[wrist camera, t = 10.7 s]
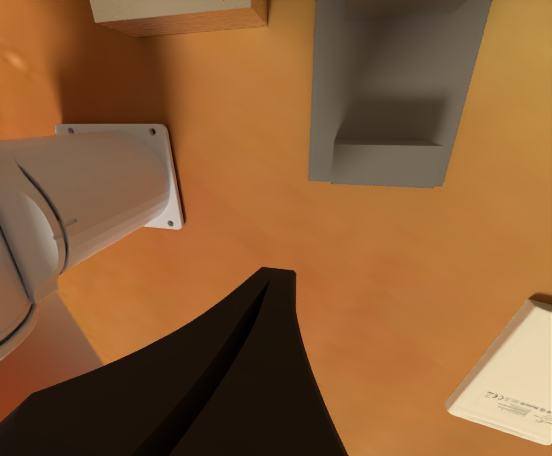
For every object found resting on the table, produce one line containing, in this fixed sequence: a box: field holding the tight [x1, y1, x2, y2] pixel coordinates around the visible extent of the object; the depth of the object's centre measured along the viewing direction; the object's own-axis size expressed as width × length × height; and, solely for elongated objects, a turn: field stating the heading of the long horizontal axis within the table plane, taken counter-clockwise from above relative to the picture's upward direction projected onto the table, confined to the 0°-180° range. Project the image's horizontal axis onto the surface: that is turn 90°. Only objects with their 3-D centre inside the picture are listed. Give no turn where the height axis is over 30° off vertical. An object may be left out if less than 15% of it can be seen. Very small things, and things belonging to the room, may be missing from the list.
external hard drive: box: [445, 299, 552, 445], centre depth 19 cm, size 2×8×12 cm
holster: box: [308, 0, 492, 188], centre depth 13 cm, size 8×11×4 cm
